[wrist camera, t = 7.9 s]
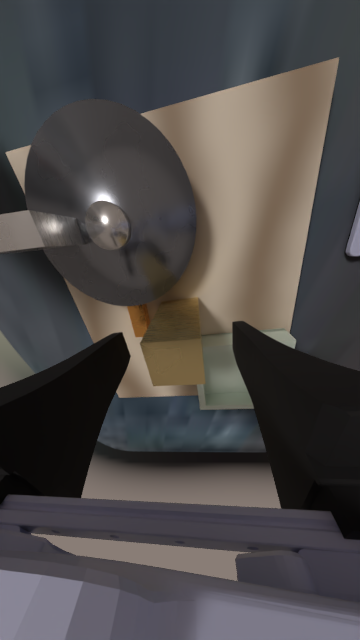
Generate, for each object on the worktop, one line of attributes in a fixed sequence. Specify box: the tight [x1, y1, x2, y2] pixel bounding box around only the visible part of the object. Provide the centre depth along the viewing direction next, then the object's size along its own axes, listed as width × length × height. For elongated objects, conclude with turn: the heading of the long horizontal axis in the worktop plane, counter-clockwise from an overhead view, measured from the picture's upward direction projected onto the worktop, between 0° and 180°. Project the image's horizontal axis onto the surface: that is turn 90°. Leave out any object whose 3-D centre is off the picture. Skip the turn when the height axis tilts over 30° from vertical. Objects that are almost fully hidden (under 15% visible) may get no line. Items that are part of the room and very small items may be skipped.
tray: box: [197, 328, 296, 410], centre depth 15 cm, size 8×8×2 cm
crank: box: [0, 99, 196, 337], centre depth 10 cm, size 13×12×4 cm
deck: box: [5, 58, 339, 398], centre depth 14 cm, size 18×22×1 cm
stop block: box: [140, 297, 206, 386], centre depth 11 cm, size 3×3×6 cm
